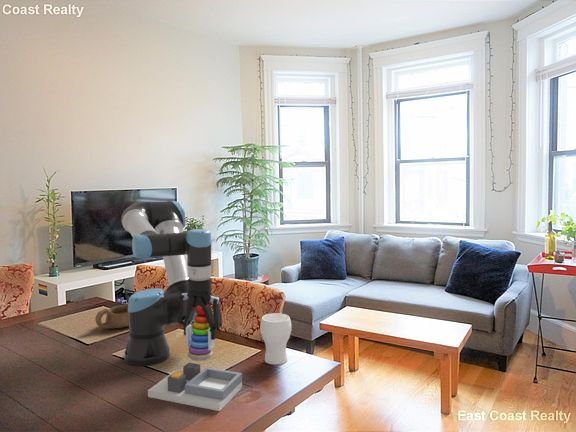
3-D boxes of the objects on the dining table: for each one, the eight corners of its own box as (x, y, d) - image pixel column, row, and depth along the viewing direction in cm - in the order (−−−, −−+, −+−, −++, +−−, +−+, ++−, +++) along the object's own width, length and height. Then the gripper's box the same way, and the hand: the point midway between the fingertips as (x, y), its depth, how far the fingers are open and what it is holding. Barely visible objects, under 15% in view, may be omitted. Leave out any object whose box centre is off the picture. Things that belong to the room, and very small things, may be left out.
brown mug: (114, 333, 171) (108, 309, 172) (92, 337, 178) (86, 313, 178) (149, 320, 187) (143, 297, 187) (127, 324, 194) (122, 302, 194)
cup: (287, 368, 144) (288, 323, 143) (256, 365, 146) (256, 321, 145) (293, 355, 154) (294, 313, 153) (264, 352, 157) (264, 311, 155)
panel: (148, 396, 125) (147, 388, 125) (175, 376, 138) (175, 368, 138) (219, 411, 117) (219, 402, 117) (242, 387, 130) (241, 379, 130)
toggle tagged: (167, 390, 124) (167, 375, 124) (173, 385, 127) (173, 370, 127) (180, 393, 123) (179, 377, 123) (185, 388, 126) (185, 372, 125)
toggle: (183, 379, 131) (183, 366, 131) (188, 375, 134) (188, 362, 134) (195, 381, 130) (194, 368, 130) (200, 377, 133) (200, 364, 132)
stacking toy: (200, 364, 137) (201, 305, 135) (182, 357, 141) (183, 300, 140) (217, 356, 143) (219, 300, 142) (200, 350, 148) (201, 296, 146)
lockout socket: (185, 393, 123) (184, 384, 123) (206, 375, 134) (206, 367, 134) (223, 400, 119) (223, 391, 119) (241, 381, 130) (241, 373, 130)
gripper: (165, 277, 139) (166, 346, 141) (222, 283, 132) (222, 356, 135) (178, 272, 146) (179, 338, 149) (233, 278, 139) (233, 347, 142)
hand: (200, 346), depth 142 cm, fingers closed on stacking toy, 7 cm apart
